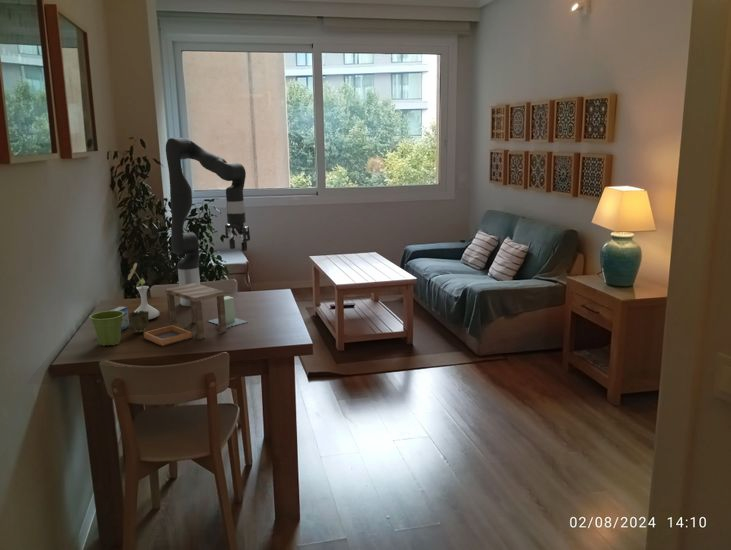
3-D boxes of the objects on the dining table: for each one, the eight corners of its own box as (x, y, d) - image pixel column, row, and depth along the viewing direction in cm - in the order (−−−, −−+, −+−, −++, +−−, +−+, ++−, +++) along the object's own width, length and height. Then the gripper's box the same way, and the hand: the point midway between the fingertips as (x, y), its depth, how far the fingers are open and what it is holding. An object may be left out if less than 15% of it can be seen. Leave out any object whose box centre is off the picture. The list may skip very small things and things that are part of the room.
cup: (135, 329, 242) (133, 310, 240) (153, 329, 241) (151, 310, 240) (127, 335, 234) (125, 315, 233) (146, 335, 234) (143, 315, 232)
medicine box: (118, 333, 237) (116, 312, 236) (108, 332, 238) (105, 311, 236) (130, 327, 245) (127, 306, 243) (120, 326, 246) (117, 306, 244)
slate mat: (207, 321, 250) (207, 320, 249) (228, 316, 257) (228, 315, 257) (227, 328, 240) (227, 327, 240) (247, 322, 247) (247, 321, 247)
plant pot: (115, 349, 218) (112, 319, 216) (86, 348, 221) (82, 318, 218) (133, 338, 230) (130, 310, 227) (105, 337, 232) (101, 309, 229)
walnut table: (168, 328, 241) (164, 289, 238) (197, 321, 250) (193, 283, 247) (198, 340, 226) (194, 297, 223) (227, 331, 236) (224, 291, 232)
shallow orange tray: (144, 338, 230) (143, 332, 229) (172, 331, 238) (172, 325, 238) (162, 346, 220) (162, 340, 220) (191, 338, 229) (191, 332, 228)
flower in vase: (141, 314, 263) (135, 258, 258) (165, 315, 261) (159, 259, 255) (123, 323, 251) (117, 264, 245) (148, 324, 248) (142, 265, 243)
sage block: (219, 321, 248) (217, 298, 246) (228, 318, 251) (227, 295, 249) (226, 323, 245) (224, 299, 243) (235, 320, 248) (233, 297, 246)
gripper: (218, 211, 253) (221, 249, 257) (238, 213, 244) (241, 252, 247) (233, 209, 259) (236, 246, 262) (253, 211, 249) (255, 250, 253)
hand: (238, 249), depth 255 cm, fingers open, 8 cm apart
